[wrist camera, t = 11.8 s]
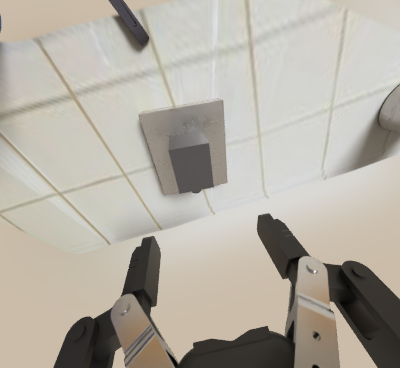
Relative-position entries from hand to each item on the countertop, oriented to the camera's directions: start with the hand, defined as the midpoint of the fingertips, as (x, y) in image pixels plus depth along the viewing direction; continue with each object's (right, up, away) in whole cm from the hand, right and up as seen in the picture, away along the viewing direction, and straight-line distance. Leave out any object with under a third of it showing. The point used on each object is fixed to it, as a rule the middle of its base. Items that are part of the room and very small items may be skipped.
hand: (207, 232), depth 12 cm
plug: (-3, +10, +15) cm, 18 cm away
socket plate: (-3, +10, +16) cm, 19 cm away
